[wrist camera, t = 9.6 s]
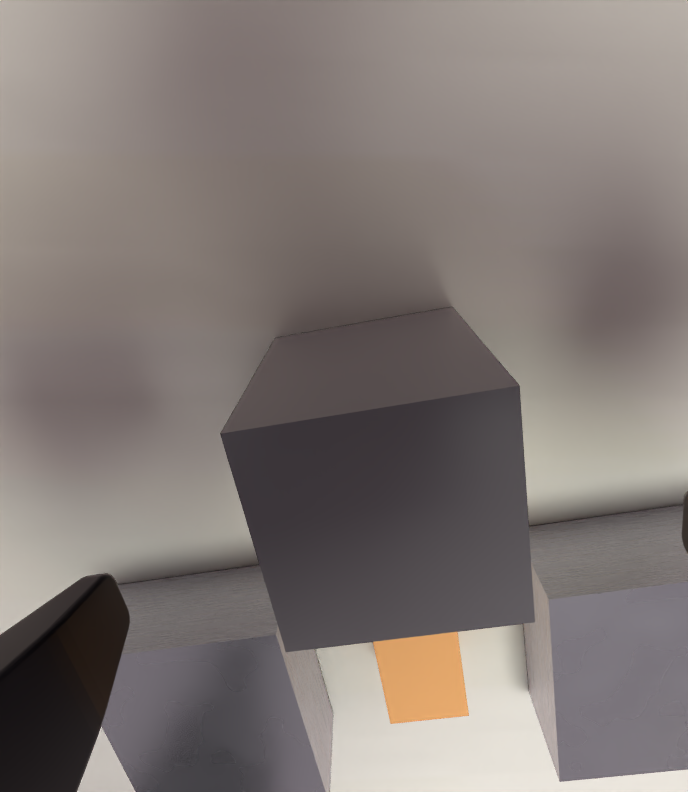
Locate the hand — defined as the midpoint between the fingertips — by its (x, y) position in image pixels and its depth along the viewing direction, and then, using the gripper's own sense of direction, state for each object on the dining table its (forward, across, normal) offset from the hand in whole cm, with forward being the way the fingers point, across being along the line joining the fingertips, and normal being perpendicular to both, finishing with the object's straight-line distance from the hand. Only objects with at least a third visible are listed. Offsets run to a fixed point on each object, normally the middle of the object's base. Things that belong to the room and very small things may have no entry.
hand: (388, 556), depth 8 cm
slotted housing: (+5, 0, +6) cm, 8 cm away
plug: (+5, 0, +2) cm, 5 cm away
